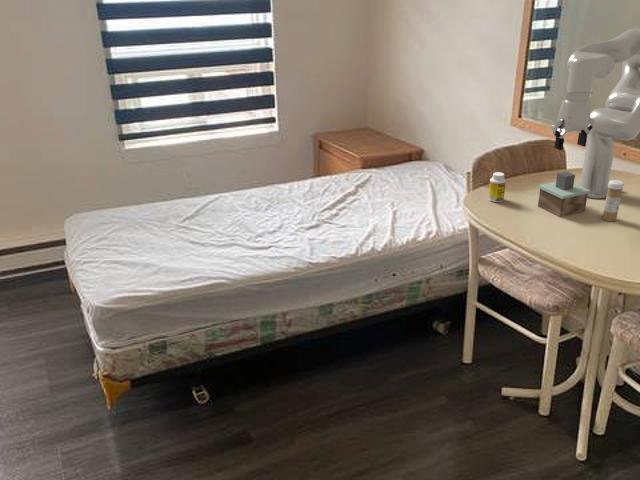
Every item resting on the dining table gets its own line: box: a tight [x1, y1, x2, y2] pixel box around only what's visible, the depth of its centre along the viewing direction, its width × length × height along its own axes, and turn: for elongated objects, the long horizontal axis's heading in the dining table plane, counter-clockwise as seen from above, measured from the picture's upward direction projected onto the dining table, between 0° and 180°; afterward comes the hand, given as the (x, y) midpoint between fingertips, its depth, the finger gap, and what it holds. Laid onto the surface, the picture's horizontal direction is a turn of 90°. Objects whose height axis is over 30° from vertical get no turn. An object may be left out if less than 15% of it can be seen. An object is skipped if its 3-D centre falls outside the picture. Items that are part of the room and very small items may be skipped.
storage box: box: [537, 188, 588, 218], centre depth 208 cm, size 11×11×7 cm
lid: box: [538, 171, 591, 199], centre depth 205 cm, size 12×12×7 cm
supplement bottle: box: [488, 171, 507, 203], centre depth 216 cm, size 6×6×10 cm
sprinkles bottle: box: [601, 179, 625, 222], centre depth 197 cm, size 5×5×13 cm
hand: (569, 147), depth 199 cm, fingers open, 9 cm apart
